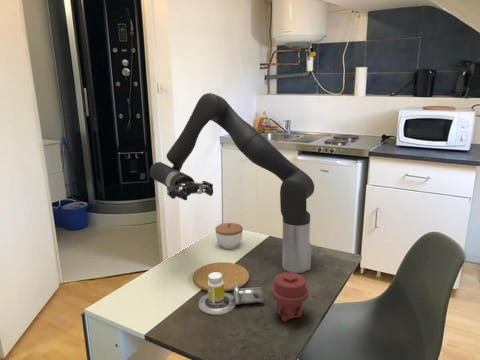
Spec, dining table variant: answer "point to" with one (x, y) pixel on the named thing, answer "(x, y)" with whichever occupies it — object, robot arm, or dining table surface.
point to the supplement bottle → (215, 288)
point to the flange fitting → (232, 300)
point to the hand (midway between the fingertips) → (199, 194)
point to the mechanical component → (289, 294)
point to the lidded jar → (229, 235)
